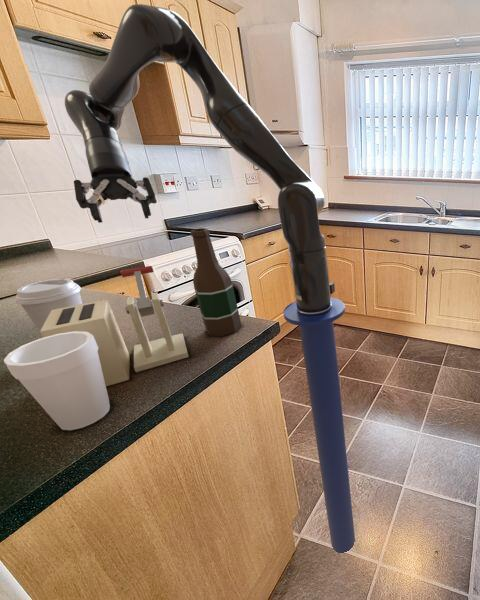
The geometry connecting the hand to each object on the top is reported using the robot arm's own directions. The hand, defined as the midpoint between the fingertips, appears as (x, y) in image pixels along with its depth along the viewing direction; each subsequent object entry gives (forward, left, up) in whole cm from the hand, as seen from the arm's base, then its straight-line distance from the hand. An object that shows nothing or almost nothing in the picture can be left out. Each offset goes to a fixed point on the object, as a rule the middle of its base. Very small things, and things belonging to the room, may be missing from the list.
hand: (123, 218), depth 76 cm
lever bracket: (+14, +15, -25) cm, 33 cm away
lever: (+11, +11, -13) cm, 20 cm away
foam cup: (+32, +18, -26) cm, 45 cm away
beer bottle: (+2, +21, -26) cm, 33 cm away
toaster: (+22, +10, -25) cm, 35 cm away
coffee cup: (+16, -5, -26) cm, 31 cm away
